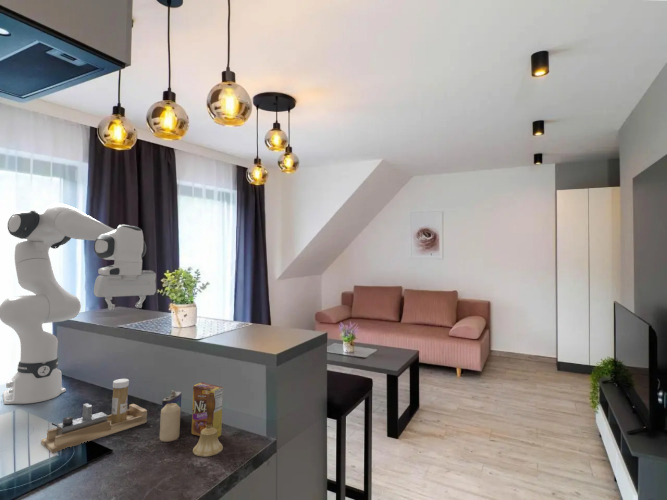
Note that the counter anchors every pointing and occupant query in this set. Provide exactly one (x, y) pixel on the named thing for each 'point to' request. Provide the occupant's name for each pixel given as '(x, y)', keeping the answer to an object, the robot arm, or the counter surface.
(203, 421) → the candy box
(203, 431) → the hand bell
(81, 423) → the sliding block with knob
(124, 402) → the sprinkles bottle
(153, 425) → the counter surface
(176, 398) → the flask
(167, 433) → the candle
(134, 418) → the guide rail
